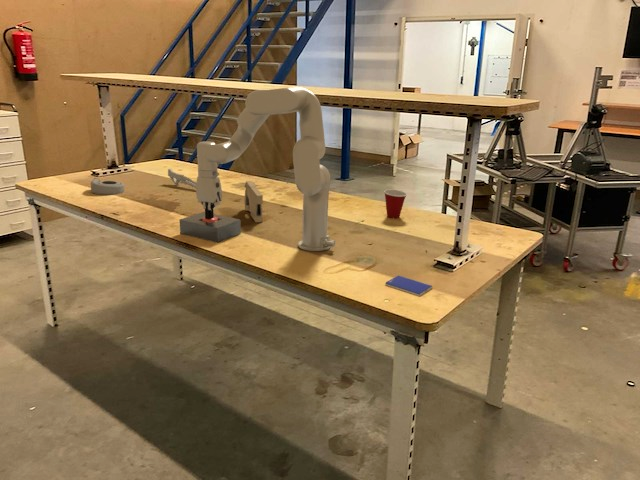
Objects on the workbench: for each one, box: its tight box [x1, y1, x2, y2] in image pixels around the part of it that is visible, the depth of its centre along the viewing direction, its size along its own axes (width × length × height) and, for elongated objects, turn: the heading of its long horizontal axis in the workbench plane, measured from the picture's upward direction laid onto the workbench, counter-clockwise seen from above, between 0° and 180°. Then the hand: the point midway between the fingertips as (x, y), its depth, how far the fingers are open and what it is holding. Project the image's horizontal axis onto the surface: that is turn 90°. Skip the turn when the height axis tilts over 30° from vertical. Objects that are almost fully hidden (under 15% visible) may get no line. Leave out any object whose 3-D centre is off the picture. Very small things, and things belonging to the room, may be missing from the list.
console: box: [179, 211, 242, 243], centre depth 210 cm, size 20×14×6 cm
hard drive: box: [385, 275, 433, 297], centre depth 165 cm, size 2×8×12 cm
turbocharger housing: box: [90, 177, 125, 196], centre depth 273 cm, size 17×6×15 cm
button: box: [202, 217, 218, 223], centre depth 209 cm, size 6×6×3 cm
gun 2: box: [243, 180, 264, 223], centre depth 235 cm, size 24×3×15 cm, turn 21°
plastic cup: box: [383, 189, 408, 219], centre depth 240 cm, size 11×11×12 cm
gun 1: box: [167, 168, 197, 188], centre depth 287 cm, size 2×30×8 cm, turn 53°
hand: (209, 218), depth 208 cm, fingers closed
